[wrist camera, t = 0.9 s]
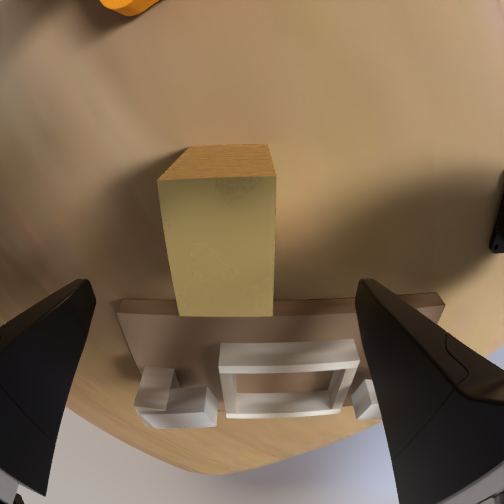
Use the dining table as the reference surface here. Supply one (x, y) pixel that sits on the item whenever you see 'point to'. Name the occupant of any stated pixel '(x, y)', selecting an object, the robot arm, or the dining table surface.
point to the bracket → (128, 6)
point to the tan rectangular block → (221, 229)
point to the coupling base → (252, 361)
